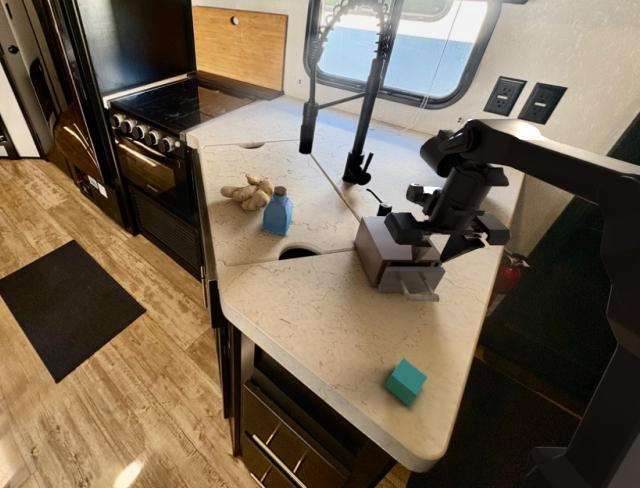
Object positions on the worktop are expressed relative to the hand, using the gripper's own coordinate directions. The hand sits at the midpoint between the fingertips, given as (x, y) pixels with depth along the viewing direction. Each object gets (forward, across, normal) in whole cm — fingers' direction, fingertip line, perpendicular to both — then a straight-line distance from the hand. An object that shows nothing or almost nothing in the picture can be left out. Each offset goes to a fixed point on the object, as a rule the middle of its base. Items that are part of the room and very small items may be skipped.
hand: (427, 261), depth 58 cm
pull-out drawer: (+11, 0, -5) cm, 12 cm away
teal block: (+12, +8, +17) cm, 22 cm away
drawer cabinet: (+12, 0, -10) cm, 16 cm away
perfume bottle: (+12, +25, -23) cm, 36 cm away
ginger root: (+12, +31, -34) cm, 48 cm away
